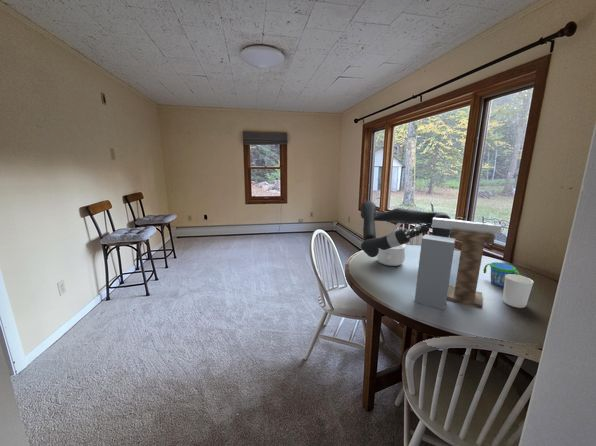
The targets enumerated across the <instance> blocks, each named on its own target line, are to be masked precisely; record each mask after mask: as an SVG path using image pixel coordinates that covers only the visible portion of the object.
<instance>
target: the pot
mask: <svg viewBox="0 0 596 446" xmlns="http://www.w3.org/2000/svg"><path fill="white" fill-rule="evenodd" d="M406 248H407V243H405V244H403V245H400V246H397V247H392V248H389V249H387V250H382V249H380V248H379V253H378V254H377V256H376V259H377V261H378V262H379V263H380V264H382V265H385V266H393V267H394V266H396V267H397V266H400V265H402V264H404V262H405V259H406V251H405V249H406Z"/></svg>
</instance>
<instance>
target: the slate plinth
mask: <svg viewBox="0 0 596 446" xmlns="http://www.w3.org/2000/svg"><path fill="white" fill-rule="evenodd" d="M455 244H456V239H455V238H448V237H441V236H434V235H431V234H424V235H423V236H422V237H421V244H420V253H419V260H418V268H417V276H416V285H415V286H416V287H415V295H414V302H415V303H416V304H420V305H425V306H428V307H431V308H436V309H439V310H442V311H445V309H446V304H447V301H448V300H447V293H448V286H449V285H450V279H451V272H452V266H453V265H452V264H453V258H454V251H455Z"/></svg>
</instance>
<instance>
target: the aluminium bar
mask: <svg viewBox="0 0 596 446" xmlns="http://www.w3.org/2000/svg"><path fill="white" fill-rule="evenodd" d="M431 226H432V227H431V228H433V227H435V228H443V229H451V230H459V231H467V232H475V233H482V234H490V235H494V236H501V234H502V233H501V232H502V227H503V225H502V224H500V223H499V224H497V223H489V222H479V221H470V220H469V221H468V220H460V219H444V218H433V221H432V225H431ZM451 230H450V231H451Z"/></svg>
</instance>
